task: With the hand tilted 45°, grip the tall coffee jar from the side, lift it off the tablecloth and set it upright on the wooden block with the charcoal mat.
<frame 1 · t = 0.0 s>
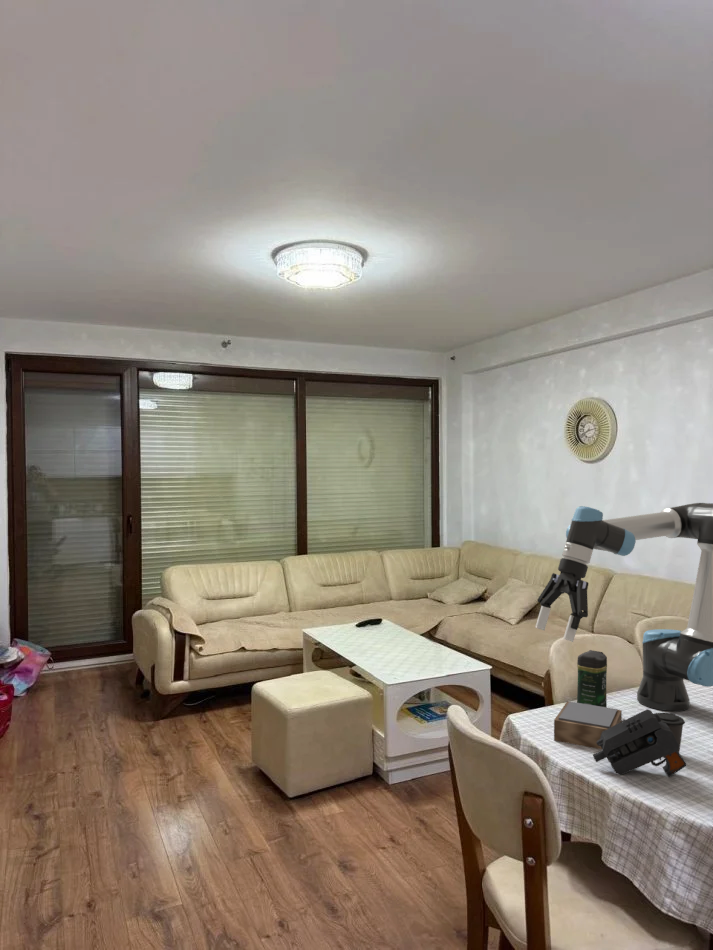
hand: (553, 634, 181), 28 cm above the table, tool tilted 20°, fingers open, 13 cm apart
wooden block: (588, 735, 182), on the table
coffee jar: (592, 714, 198), on the table
coffee cup: (667, 754, 169), on the table
tool: (638, 772, 159), on the table
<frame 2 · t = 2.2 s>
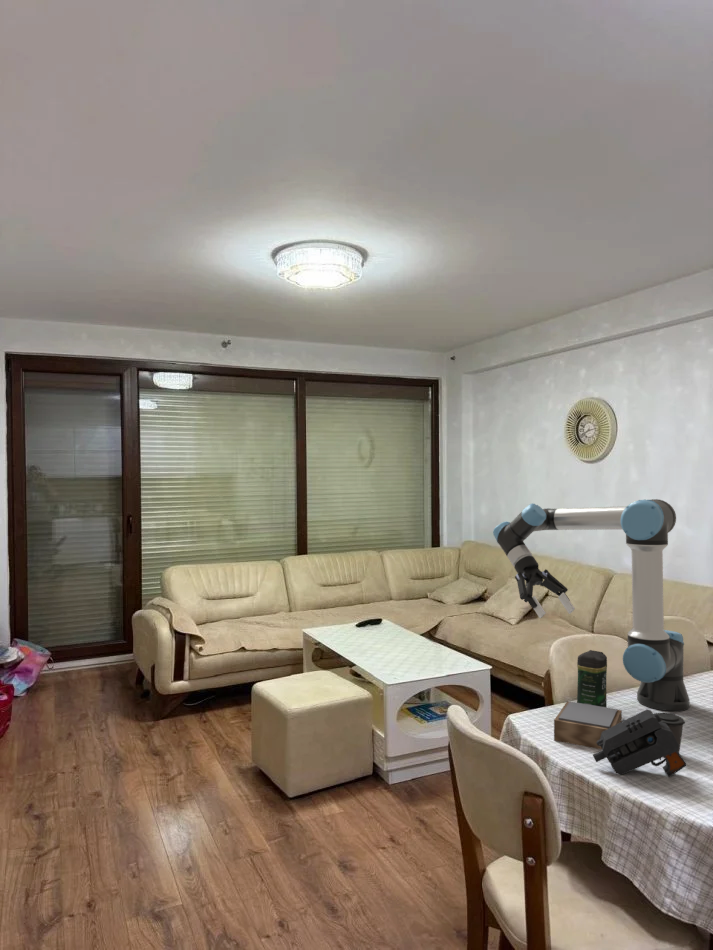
hand: (557, 613, 211), 28 cm above the table, tool tilted 45°, fingers open, 13 cm apart
nothing on the table moved.
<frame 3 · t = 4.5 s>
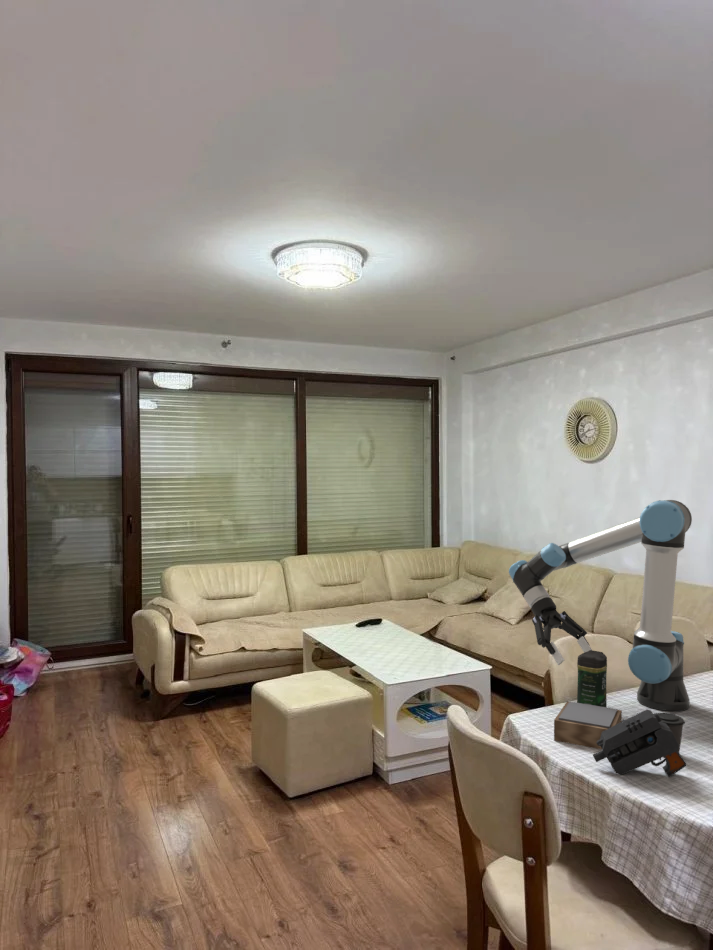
hand: (576, 659, 203), 15 cm above the table, tool tilted 45°, fingers open, 13 cm apart
nothing on the table moved.
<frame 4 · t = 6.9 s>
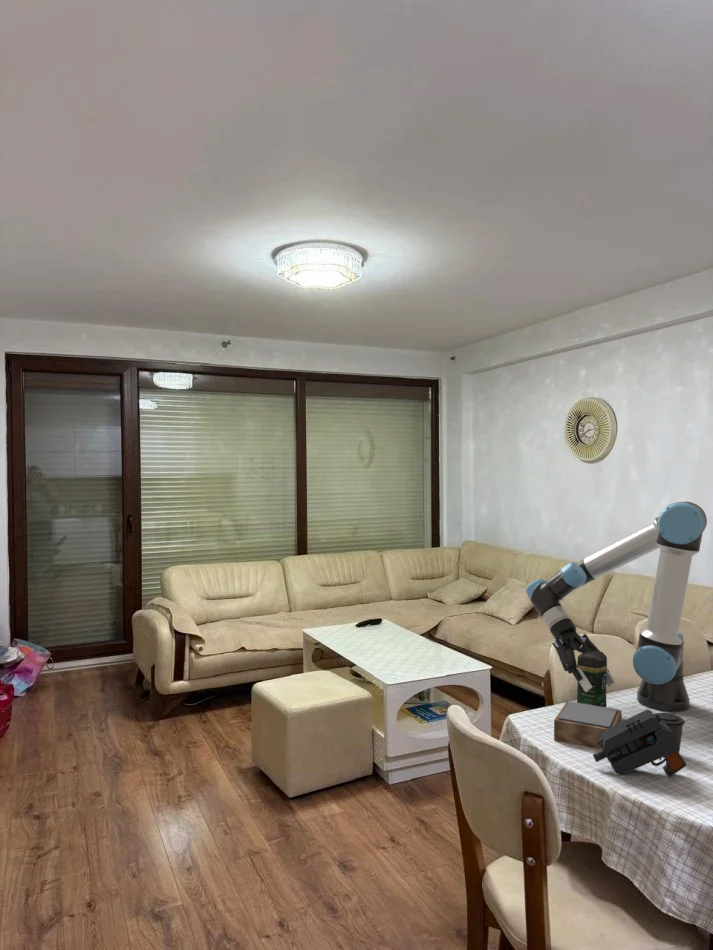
hand: (600, 686, 196), 9 cm above the table, tool tilted 45°, fingers closed on coffee jar, 10 cm apart
coffee jar: (592, 714, 198), on the table, touching gripper
everything else where it was.
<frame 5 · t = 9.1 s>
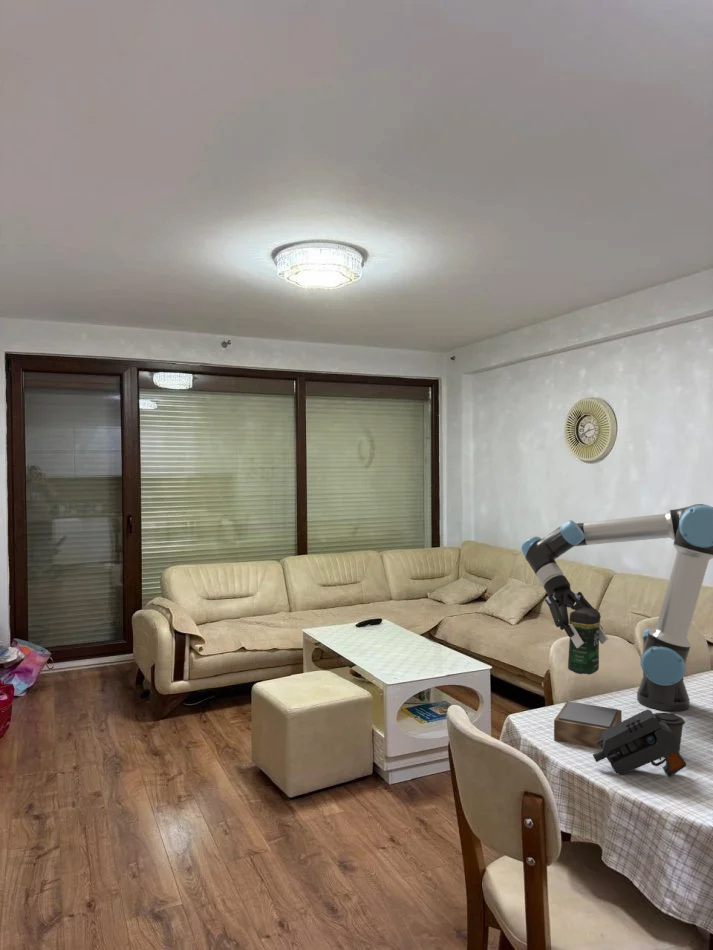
hand: (592, 643, 192), 23 cm above the table, tool tilted 45°, fingers closed on coffee jar, 10 cm apart
coffee jar: (583, 671, 195), point 14 cm above the table, touching gripper
everything else where it was.
when the fingers open (16 cm above the table, at t = 11.6 s): coffee jar drops 1 cm, resting on wooden block.
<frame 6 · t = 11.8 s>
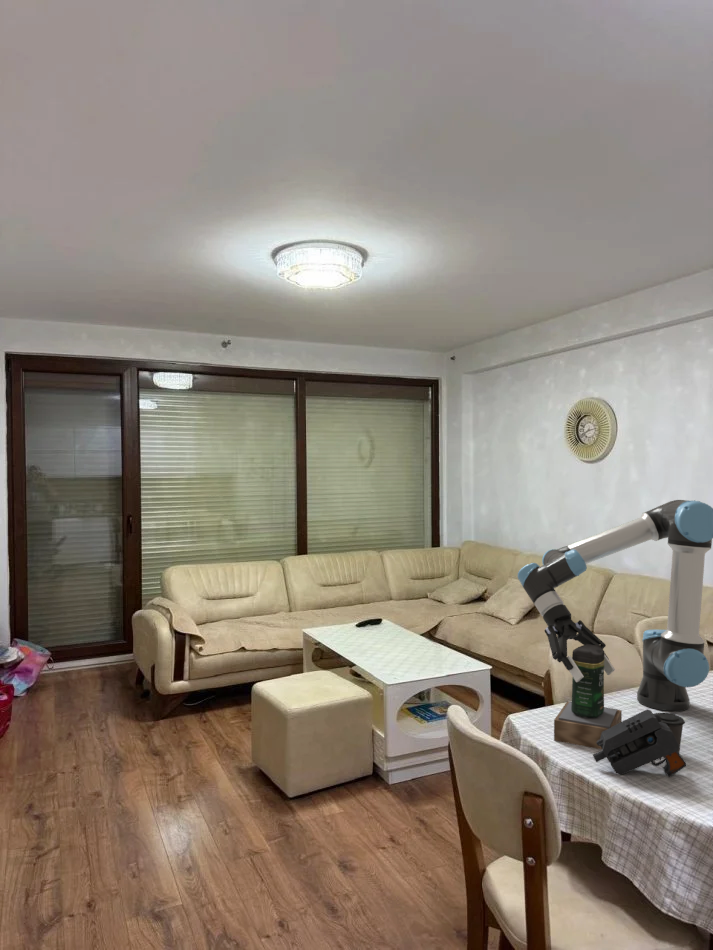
hand: (596, 676, 180), 17 cm above the table, tool tilted 45°, fingers open, 12 cm apart
coffee jar: (588, 713, 182), point 6 cm above the table, touching wooden block
everything else where it was.
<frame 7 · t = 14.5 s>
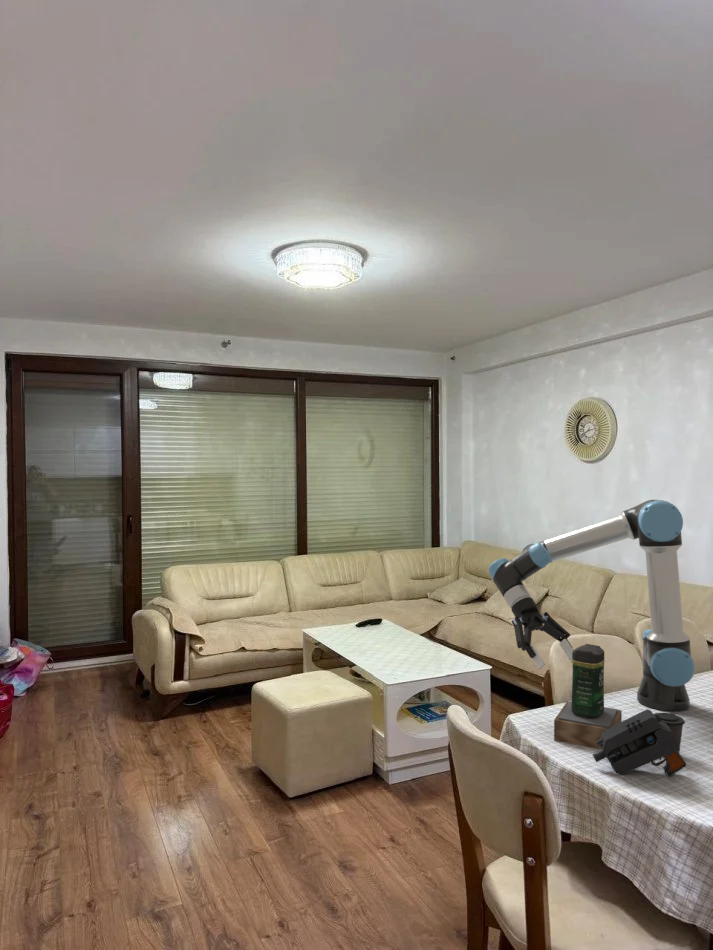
hand: (558, 663, 191), 17 cm above the table, tool tilted 45°, fingers open, 13 cm apart
nothing on the table moved.
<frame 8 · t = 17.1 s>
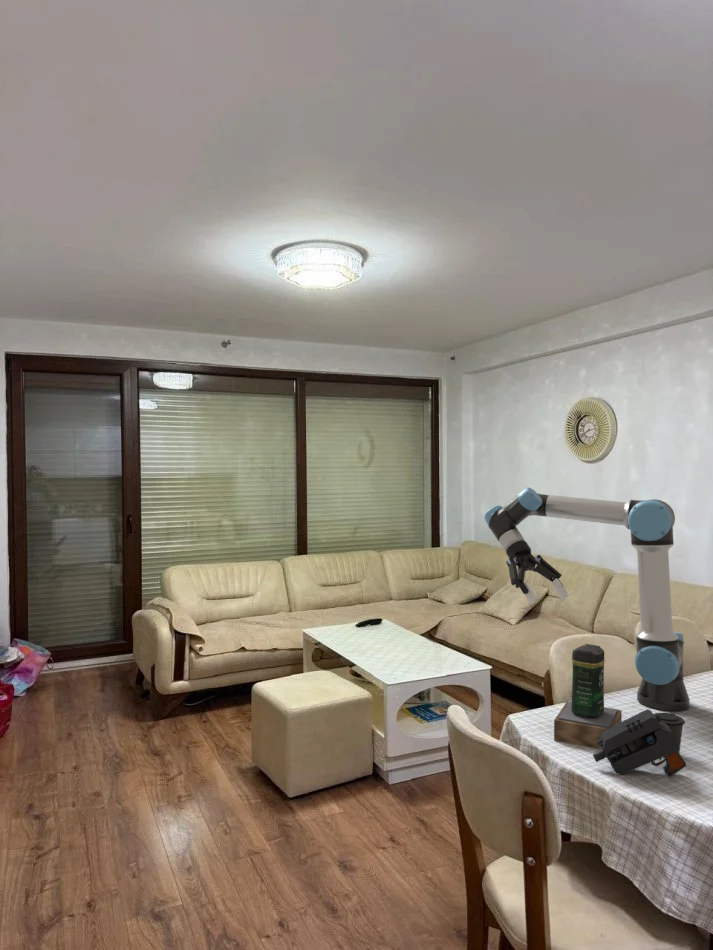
hand: (550, 599, 202), 34 cm above the table, tool tilted 45°, fingers open, 13 cm apart
nothing on the table moved.
at the end: coffee jar inside the target area on the wooden block (0.2 cm from its centre), point 5.8 cm above the wooden block's base; coffee jar tilted 0°; the gripper is holding nothing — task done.
